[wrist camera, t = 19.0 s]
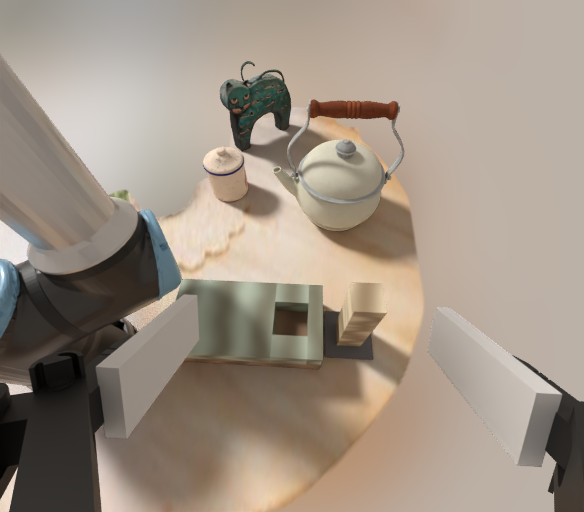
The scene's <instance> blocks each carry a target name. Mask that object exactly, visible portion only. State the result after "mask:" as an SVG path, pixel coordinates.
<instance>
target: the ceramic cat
mask: <svg viewBox="0 0 584 512" xmlns="http://www.w3.org/2000/svg"><path fill="white" fill-rule="evenodd" d="M248 63H249V64H252V65H253V66H255V65H254V63H252V62H250V61H247V62H245V63H244V64H243V65H242V67H241V76H242V70H243V67H244V66H245V65H246V64H248ZM268 72H278V73H279V74H280V75H281V76H282V79H283V81H282V80H280V79H279V78H277V77H275V76H273V75H270V74H266V73H268ZM264 74H265V75H264ZM242 80H243V82H241V81H238V80H234V79H231V80H227V81H226V82H224V84H223V85H222V86H221V88H220V99H221V101H222V103H223V105H224V106H225V107H226V108H227V109H228V110H229V111H230V121H231V128H232V132H233V137H234V142H235V145H236V146H237V147H238V148H239V149H240V150H241V151H244V150H246V149H248V148H250V137H251V132H252V129H253V126H254V124H255V122H256V121H257V120H258V119H259V118H260V117H262V116H263V115H265V114H267V113H269V112H272V113H273V114H274V118H275V126H276V127H277V128H278V129H280V130H285V129H287V128H288V127H289V118H290V111H291V98H290V94H289V92H288V89H287V87H286V85H285V84H284V78H283V75H282V73H281V72H280V71H278V70H268V71H266V72H264V73H263V74H261V75H260V76H256V77H254V78H252V79H251V80H245V81H244V79H243V76H242Z"/></svg>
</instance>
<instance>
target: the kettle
mask: <svg viewBox="0 0 584 512" xmlns="http://www.w3.org/2000/svg"><path fill="white" fill-rule="evenodd" d="M306 110H307V111H308V119H307V122H306V124H305V125H304V126H303V127H302V128H301V129H300V131H299V132H298V133H297V134H296V135H295V136H294V137H293V138H292V140H291V141H290V143H289V145H288V150H287V157H288V161H289V164H290V166H291V168H292V170H293V172H294V174H293V173H291V174H290V176H289V175H288V174H287V173H285V172H284V171H283V169H282V168H281V167H279V166H277V167H274V168H273V170H272V171H273V173H274V174H275V175H276V176H277V178H278V179H279V180H280V182H281V183H282V184H283V186H284V187H285V188H286V189H287V190H288V191H289V192H290V193H291V194H293V195H294V196H295V197H296V198H297V200H298V203H299V205H300V207H301V208H302V210H303V211H304V213H305V214H306V215H307V216H308V218H309V219H310V220H311V221H312V222H313V223H314V224H316V225H317V226H319V227H321V228H323V229H326V230H331V231H343V230H348V229H351V228H353V227H355V226H356V225H358V224H360V223H362V222H364V221H365V220H367V219H368V218H369V217H370V216H371V215H372V214H373V213H374V211H375V210H376V208H377V206H378V204H379V201H380V197H381V189H382V188H383V186H384V184H386V182H387V180H390V179H391V176H390V175H391V173H392V172H393V171H394V170H395V169H396V168H397V167H398V165H399V164H400V163H401V161H402V159H403V157H404V148H403V144H402V141H401V139H400V137H399V135H398V133H397V132H396V130H395V128H394V126H395V122H396V118H397V115H398V113H399V112H400V103H399V102H395V101H392V102H391V103H389V104H383V103H377V102H371V101H364V102H360V101H357V102H355V101H352V102H351V101H347V102H346V101H330V102H323V103H319V102H318V101H316V100H309V106H308V107H307V108H306ZM317 116H325V117H331V118H347V119H348V118H351V119H353V118H355V119H357V118H362V119H372V118H381V117H386V118H388V119H389V120H392V129H393V132H394V134H395V136H396V138H397V139H398V141H399V143H400V145H401V148H402V149H401V153H400V155H399V157H398V159H397V160H396V162H395V163H394V164H393V165H392V166H391V167H390V168H389V170H388V171H387V172H386V174H385V172H384V169H383V167H382V165H381V163H380V162H379V160H378V158H377V157H376V155H375V154H374V153H373V152H372V151H371V150H370V149H369V148H367V147H366V146H364V145H362V144H360V143H357V142H354V141H350V140H332V141H328V142H325V143H322V144H320V145H318V146H317V147H315V148H314V149H313V150H312V151H311V152H310V153H308V154H307V155H306V156H305V157H304V158H303V159H302V161H301V162H300V165H299V168H298V173H296V168H295V166H294V164H293V162H292V160H291V157H290V154H289V150H290V148H291V146H292V145H293V144H294V142H295V141H296V140H297V139H298V138H299V137H300V136H301V135H302V134H303V133H304V132H305V131H306V129H307V128H308V125H309V120H310V117H311V118H315V117H317ZM293 177H294V178H293ZM297 177H298V178H297Z"/></svg>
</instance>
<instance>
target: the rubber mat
mask: <svg viewBox="0 0 584 512" xmlns="http://www.w3.org/2000/svg"><path fill="white" fill-rule="evenodd" d="M339 314H340V312H330V311H325V357H334V358H352V359H369V360H373V353H372V343H371V334H370V335H369V336H368V337H367V339H366V340H365V341H364V342H363V344H362V345H361V346H360V347H358V346H340V345H337V339H336V321H337V319H338V316H339Z"/></svg>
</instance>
